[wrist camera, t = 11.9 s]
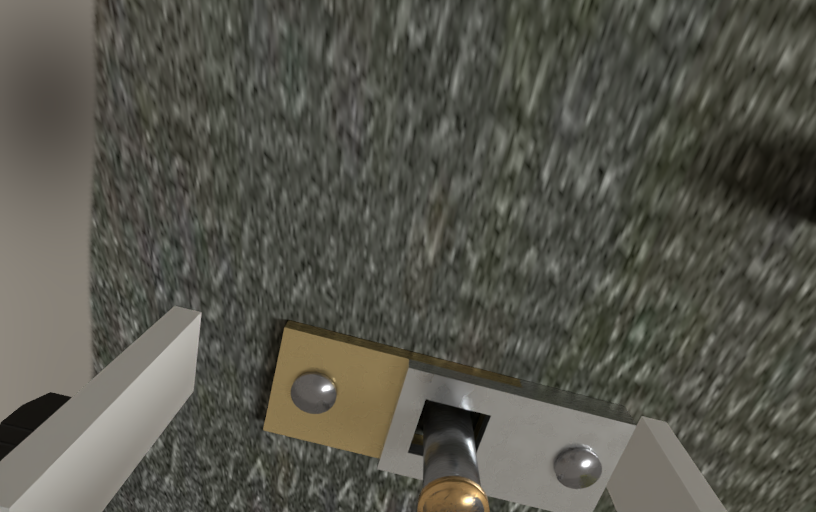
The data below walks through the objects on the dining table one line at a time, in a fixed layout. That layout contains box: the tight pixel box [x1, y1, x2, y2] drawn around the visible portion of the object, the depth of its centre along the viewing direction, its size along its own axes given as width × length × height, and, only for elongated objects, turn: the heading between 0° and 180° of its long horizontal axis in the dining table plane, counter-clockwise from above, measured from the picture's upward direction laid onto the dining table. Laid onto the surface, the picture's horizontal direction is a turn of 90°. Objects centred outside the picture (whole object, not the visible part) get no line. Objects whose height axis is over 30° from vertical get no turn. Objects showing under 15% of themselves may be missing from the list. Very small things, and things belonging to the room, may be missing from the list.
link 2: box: [377, 359, 637, 512], centre depth 48 cm, size 12×22×4 cm, turn 75°
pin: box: [418, 400, 489, 512], centre depth 43 cm, size 6×6×12 cm
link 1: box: [263, 320, 522, 458], centre depth 48 cm, size 12×23×2 cm, turn 75°
